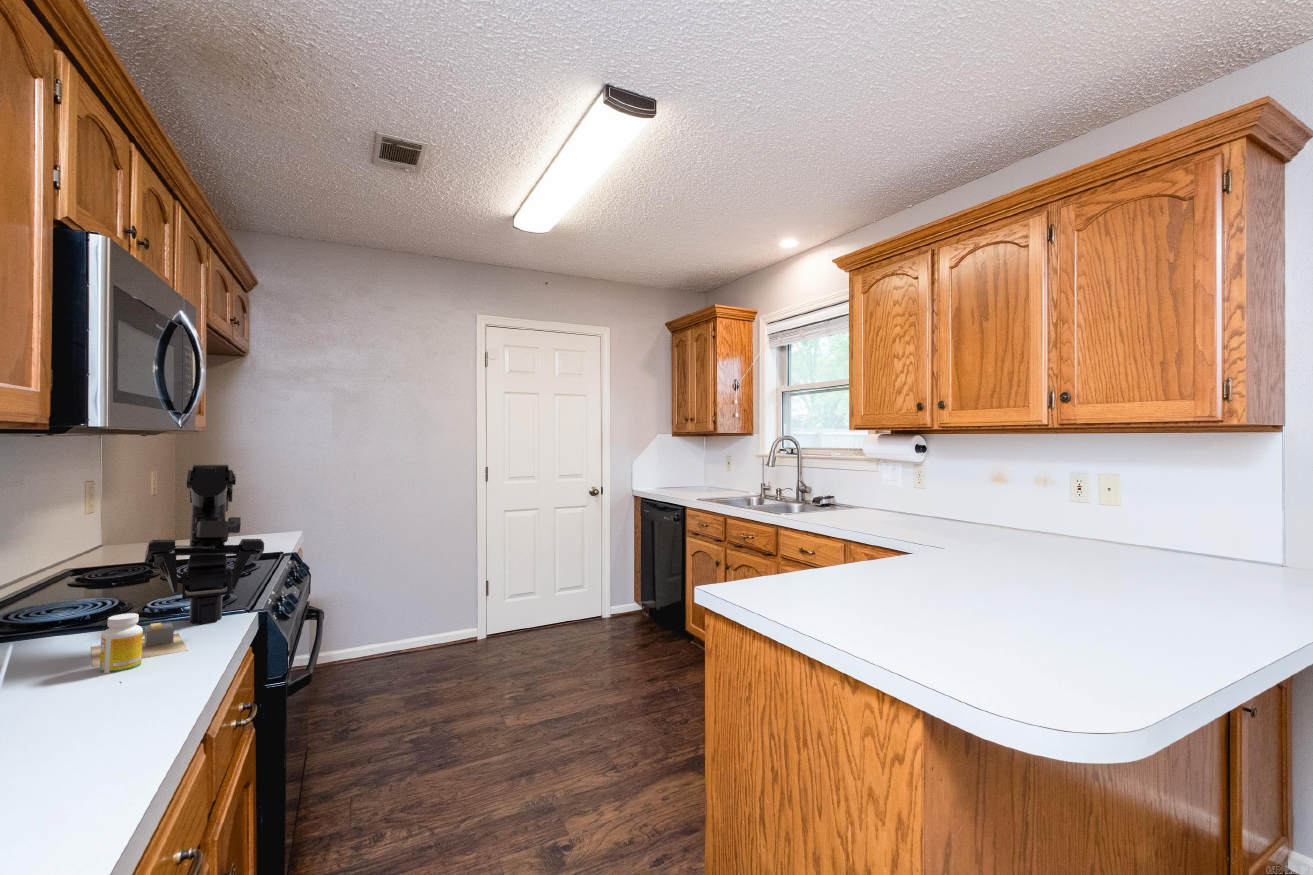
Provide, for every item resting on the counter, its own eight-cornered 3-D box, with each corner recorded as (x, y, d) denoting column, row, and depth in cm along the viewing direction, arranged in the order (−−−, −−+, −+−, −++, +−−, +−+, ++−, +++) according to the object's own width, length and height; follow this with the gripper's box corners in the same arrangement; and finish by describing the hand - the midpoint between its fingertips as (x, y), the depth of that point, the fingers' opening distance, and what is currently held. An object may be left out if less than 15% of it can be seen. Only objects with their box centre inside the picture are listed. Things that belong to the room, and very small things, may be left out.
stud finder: (144, 642, 115) (145, 623, 115) (170, 638, 118) (171, 619, 118) (146, 647, 113) (147, 628, 113) (173, 642, 115) (173, 624, 115)
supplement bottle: (90, 677, 100) (93, 620, 100) (119, 665, 105) (121, 611, 106) (122, 677, 100) (124, 620, 100) (149, 666, 105) (151, 612, 105)
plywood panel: (90, 651, 112) (91, 646, 112) (178, 636, 121) (178, 633, 121) (92, 671, 102) (92, 666, 102) (187, 654, 111) (187, 650, 111)
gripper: (155, 499, 112) (148, 578, 105) (270, 503, 124) (270, 573, 118) (147, 524, 118) (140, 600, 111) (258, 525, 131) (257, 593, 124)
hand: (205, 591), depth 116 cm, fingers open, 9 cm apart
